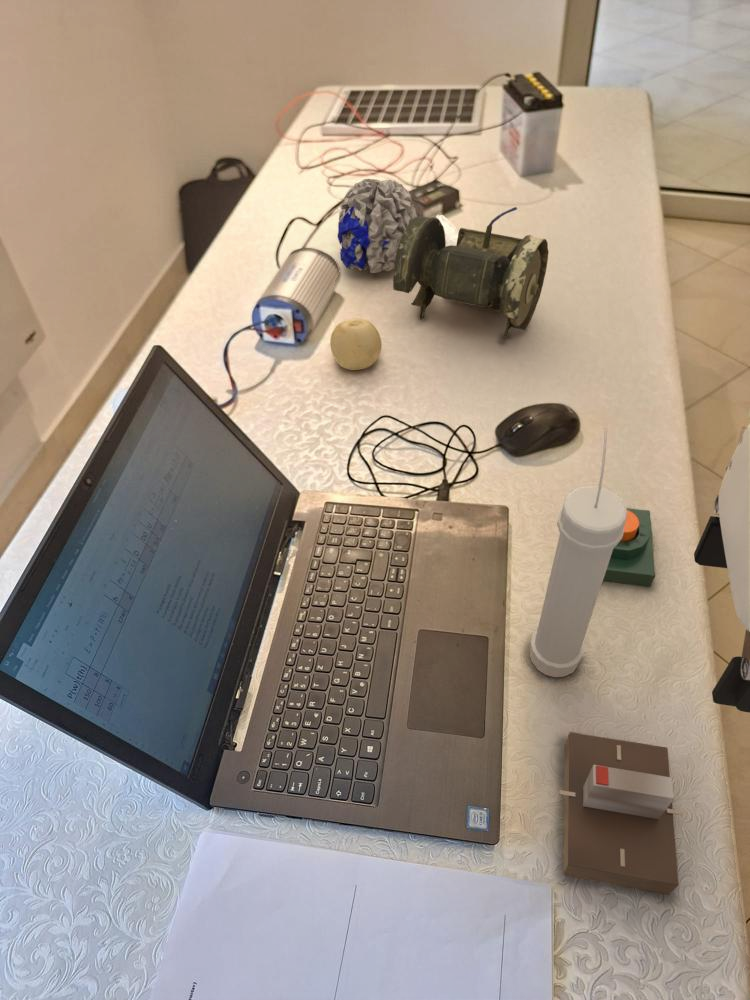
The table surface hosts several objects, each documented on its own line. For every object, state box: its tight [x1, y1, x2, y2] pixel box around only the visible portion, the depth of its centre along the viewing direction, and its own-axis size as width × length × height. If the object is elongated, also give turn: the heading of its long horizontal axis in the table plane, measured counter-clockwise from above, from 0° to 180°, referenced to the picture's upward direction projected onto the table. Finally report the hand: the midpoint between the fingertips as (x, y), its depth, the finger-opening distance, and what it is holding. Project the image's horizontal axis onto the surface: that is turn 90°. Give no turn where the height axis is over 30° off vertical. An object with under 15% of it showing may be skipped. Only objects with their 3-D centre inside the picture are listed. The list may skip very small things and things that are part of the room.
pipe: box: [529, 427, 627, 678], centre depth 67 cm, size 6×6×30 cm
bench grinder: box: [392, 206, 549, 339], centre depth 116 cm, size 20×22×20 cm
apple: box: [329, 318, 382, 371], centre depth 112 cm, size 8×8×8 cm
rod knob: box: [583, 765, 675, 819], centre depth 63 cm, size 6×2×5 cm, turn 79°
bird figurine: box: [435, 213, 459, 246], centre depth 134 cm, size 5×7×10 cm
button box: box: [603, 507, 656, 588], centre depth 86 cm, size 10×8×4 cm
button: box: [620, 510, 639, 542], centre depth 84 cm, size 4×4×2 cm
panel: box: [558, 731, 685, 896], centre depth 66 cm, size 12×11×3 cm
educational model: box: [336, 178, 418, 274], centre depth 132 cm, size 14×20×15 cm
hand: (729, 627), depth 43 cm, fingers open, 9 cm apart
